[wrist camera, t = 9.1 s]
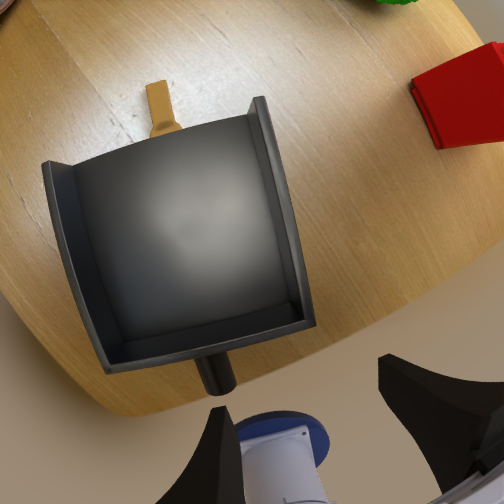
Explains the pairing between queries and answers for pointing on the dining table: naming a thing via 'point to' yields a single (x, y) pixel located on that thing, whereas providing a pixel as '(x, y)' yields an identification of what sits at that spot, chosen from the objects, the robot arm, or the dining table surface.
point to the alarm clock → (4, 5)
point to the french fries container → (464, 98)
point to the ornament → (396, 1)
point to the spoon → (161, 109)
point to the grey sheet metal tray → (183, 246)
